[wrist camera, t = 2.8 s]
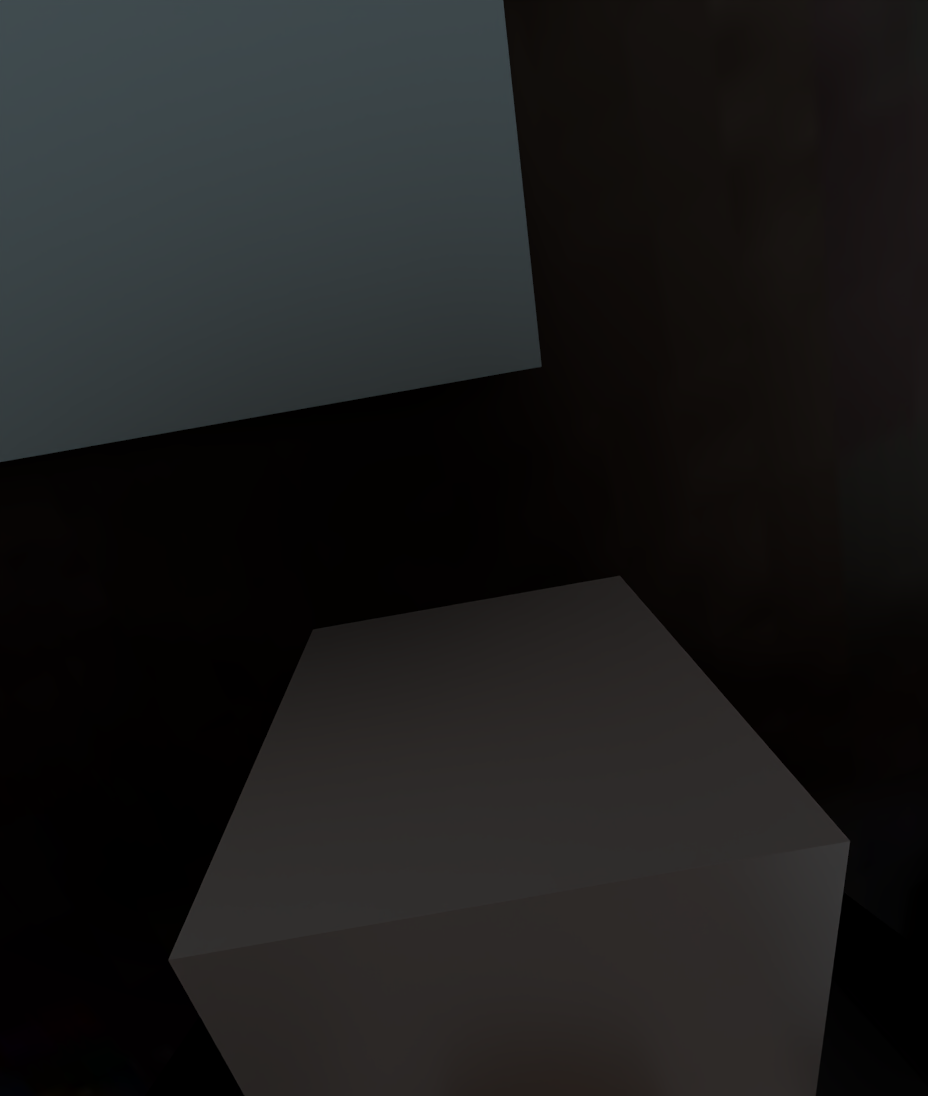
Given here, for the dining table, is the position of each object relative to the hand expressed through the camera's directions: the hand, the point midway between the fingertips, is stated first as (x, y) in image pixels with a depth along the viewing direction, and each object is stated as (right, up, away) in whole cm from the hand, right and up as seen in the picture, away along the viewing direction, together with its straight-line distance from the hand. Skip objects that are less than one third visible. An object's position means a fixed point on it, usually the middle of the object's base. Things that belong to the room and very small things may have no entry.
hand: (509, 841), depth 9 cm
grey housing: (0, 0, +1) cm, 1 cm away
